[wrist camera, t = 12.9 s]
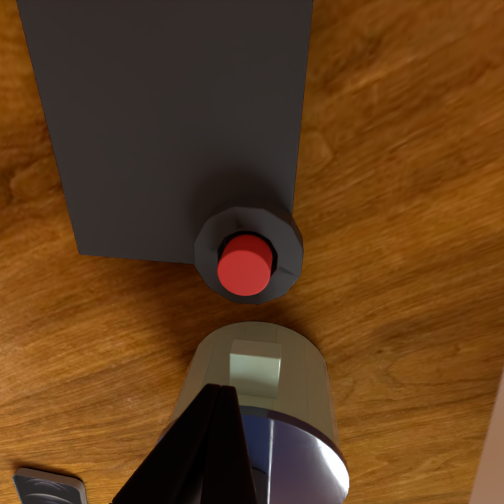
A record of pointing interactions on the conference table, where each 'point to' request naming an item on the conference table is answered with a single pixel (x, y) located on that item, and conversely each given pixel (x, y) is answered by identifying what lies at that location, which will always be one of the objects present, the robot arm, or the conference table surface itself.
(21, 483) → the smartphone
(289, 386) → the pot
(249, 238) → the button
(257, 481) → the lid
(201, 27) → the control block
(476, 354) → the conference table surface
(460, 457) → the conference table surface
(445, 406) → the conference table surface
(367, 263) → the conference table surface
